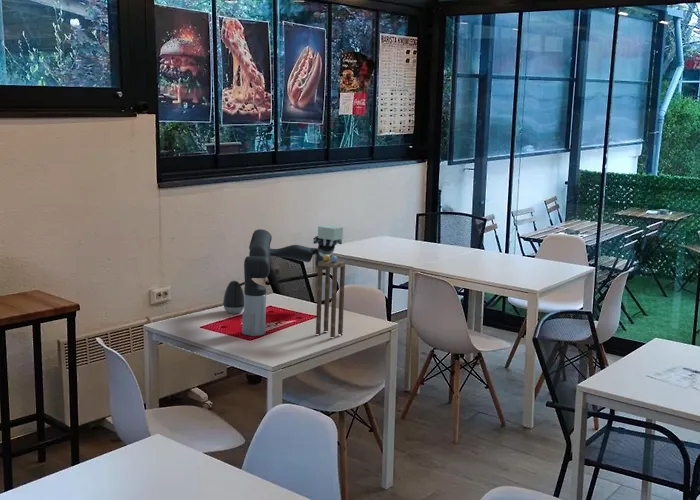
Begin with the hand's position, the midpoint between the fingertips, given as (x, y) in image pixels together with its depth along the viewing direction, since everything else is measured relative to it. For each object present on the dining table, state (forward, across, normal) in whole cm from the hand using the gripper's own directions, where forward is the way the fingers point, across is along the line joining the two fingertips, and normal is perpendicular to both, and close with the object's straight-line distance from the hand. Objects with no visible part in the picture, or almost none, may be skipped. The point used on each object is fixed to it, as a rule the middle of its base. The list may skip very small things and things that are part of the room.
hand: (329, 233), depth 348 cm
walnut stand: (-5, 0, +45) cm, 45 cm away
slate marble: (+12, +1, +18) cm, 21 cm away
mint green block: (0, 0, +1) cm, 1 cm away
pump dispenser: (-37, -42, +26) cm, 62 cm away
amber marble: (+10, -2, +16) cm, 19 cm away
